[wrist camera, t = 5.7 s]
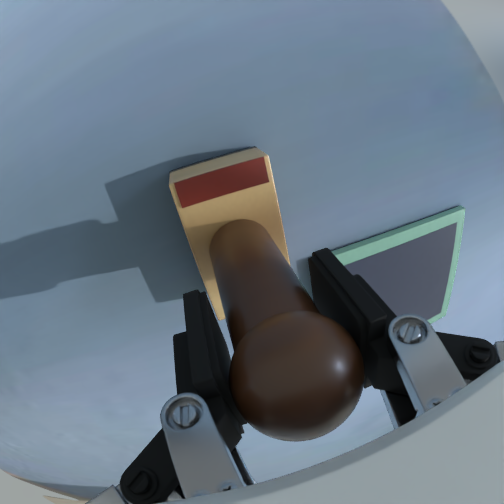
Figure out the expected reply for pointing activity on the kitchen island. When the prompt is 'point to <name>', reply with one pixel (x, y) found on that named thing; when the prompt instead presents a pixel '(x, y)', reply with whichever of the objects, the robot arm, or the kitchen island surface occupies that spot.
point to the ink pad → (411, 264)
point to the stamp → (265, 301)
